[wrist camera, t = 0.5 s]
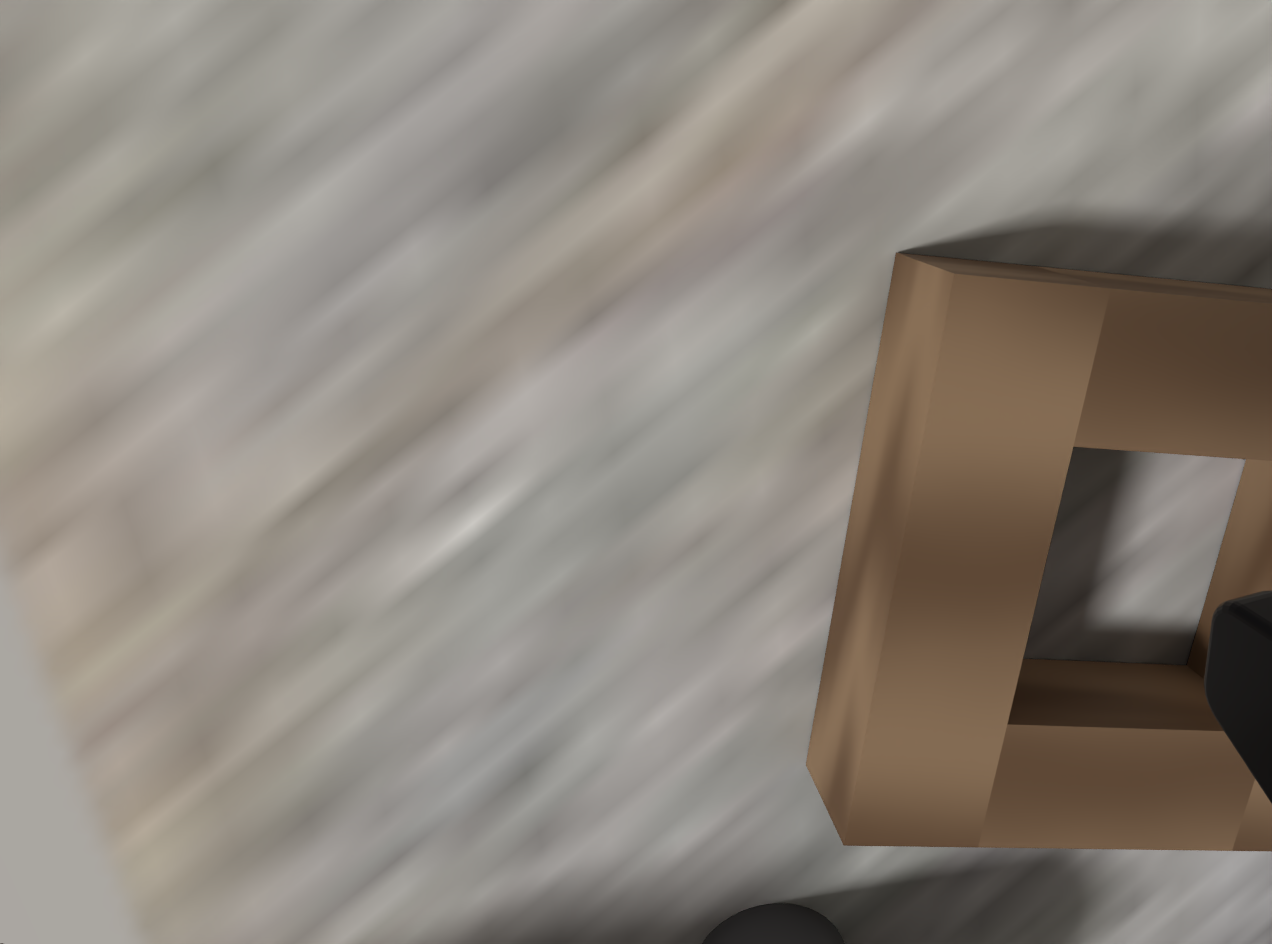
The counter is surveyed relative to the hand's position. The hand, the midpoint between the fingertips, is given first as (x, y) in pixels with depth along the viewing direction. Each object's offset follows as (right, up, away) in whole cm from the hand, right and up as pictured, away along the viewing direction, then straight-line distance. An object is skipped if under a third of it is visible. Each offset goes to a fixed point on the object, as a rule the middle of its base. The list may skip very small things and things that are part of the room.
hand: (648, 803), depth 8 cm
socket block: (+10, +1, +17) cm, 20 cm away
